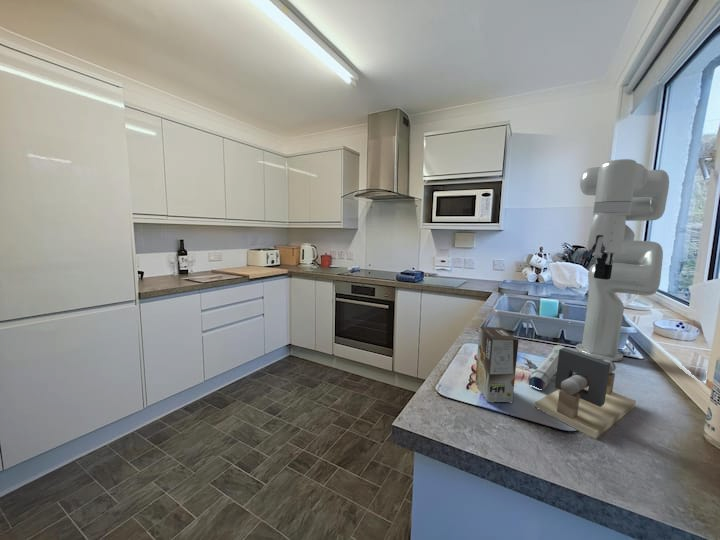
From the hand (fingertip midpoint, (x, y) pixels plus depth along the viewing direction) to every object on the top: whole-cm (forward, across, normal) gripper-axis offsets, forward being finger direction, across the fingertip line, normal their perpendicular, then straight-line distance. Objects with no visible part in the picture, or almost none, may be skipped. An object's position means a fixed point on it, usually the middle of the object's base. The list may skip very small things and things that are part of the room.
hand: (601, 278), depth 80 cm
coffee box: (+29, +31, -9) cm, 44 cm away
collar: (+24, +22, +6) cm, 33 cm away
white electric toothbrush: (+30, +7, -7) cm, 31 cm away
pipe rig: (+29, +17, +6) cm, 34 cm away
